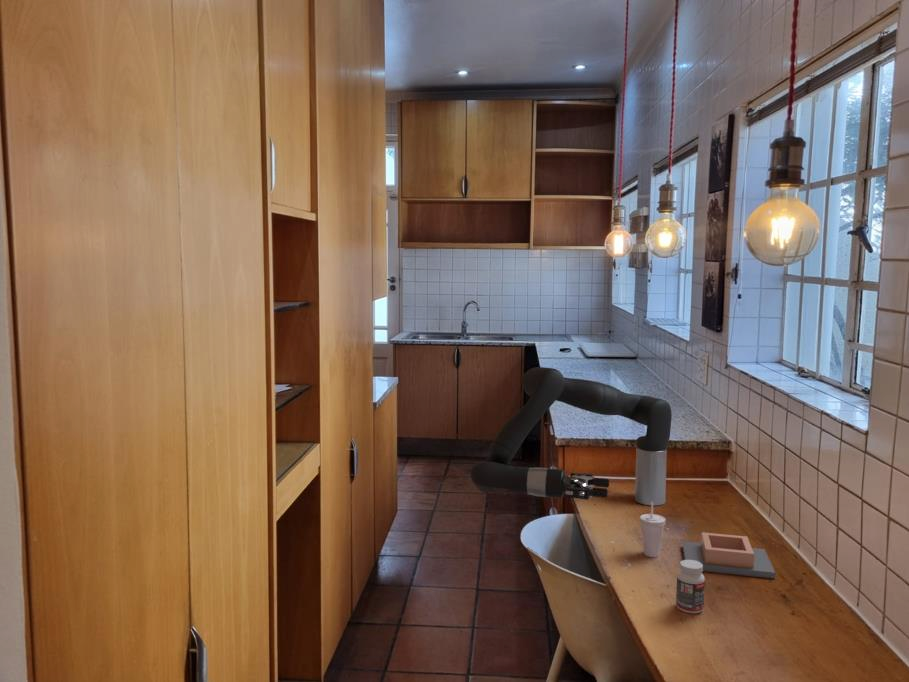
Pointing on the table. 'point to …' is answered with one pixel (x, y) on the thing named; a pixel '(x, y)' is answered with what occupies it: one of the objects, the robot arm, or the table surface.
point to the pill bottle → (690, 587)
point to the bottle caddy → (729, 555)
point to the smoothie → (652, 532)
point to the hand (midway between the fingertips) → (608, 488)
